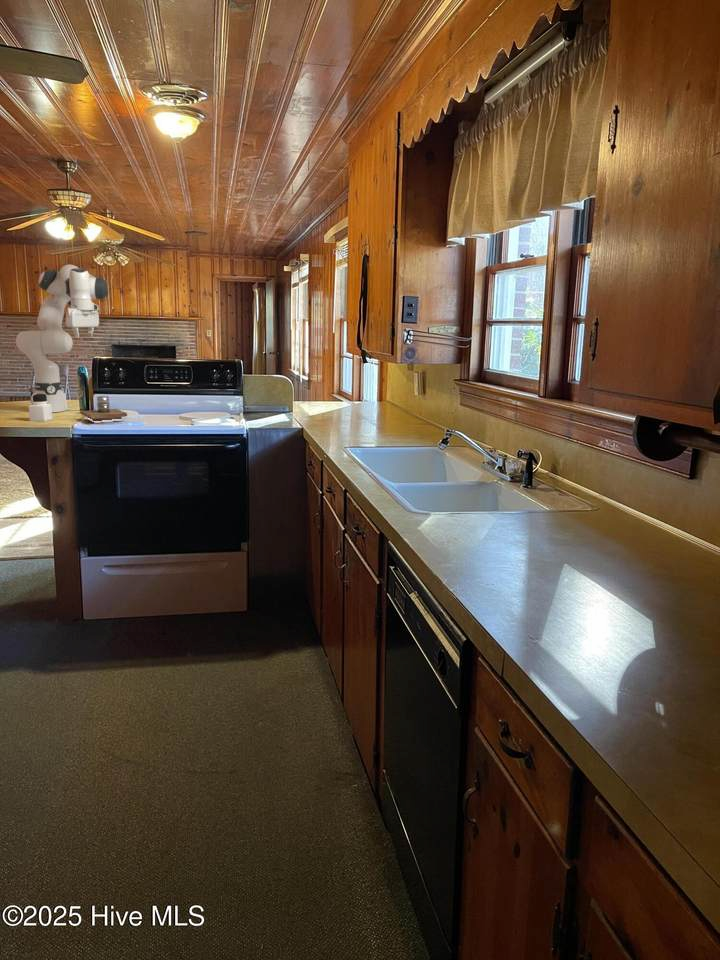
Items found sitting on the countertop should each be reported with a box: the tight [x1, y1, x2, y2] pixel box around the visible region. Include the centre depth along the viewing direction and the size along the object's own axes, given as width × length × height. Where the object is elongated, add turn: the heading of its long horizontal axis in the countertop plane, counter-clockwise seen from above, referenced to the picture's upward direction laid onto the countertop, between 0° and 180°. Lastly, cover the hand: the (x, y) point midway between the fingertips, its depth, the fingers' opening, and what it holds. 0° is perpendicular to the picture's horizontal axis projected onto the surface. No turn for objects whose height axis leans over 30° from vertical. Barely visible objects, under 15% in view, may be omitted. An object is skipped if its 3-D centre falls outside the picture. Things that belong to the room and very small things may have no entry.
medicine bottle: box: [28, 394, 53, 422], centre depth 319 cm, size 7×7×12 cm
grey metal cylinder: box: [96, 395, 111, 413], centre depth 320 cm, size 5×5×7 cm
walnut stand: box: [80, 408, 128, 421], centre depth 321 cm, size 16×16×4 cm
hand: (83, 337), depth 319 cm, fingers open, 8 cm apart
